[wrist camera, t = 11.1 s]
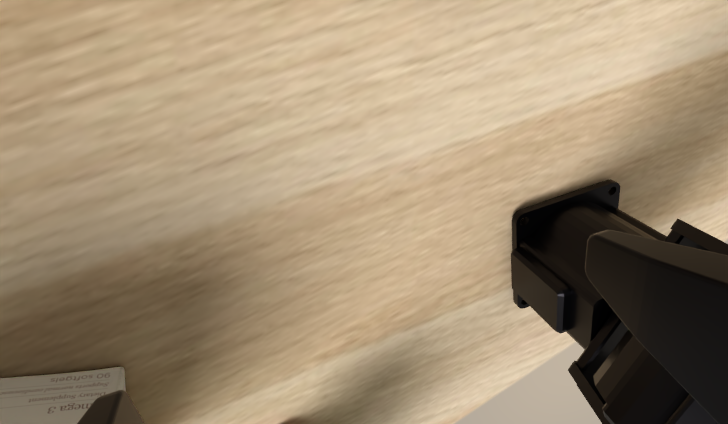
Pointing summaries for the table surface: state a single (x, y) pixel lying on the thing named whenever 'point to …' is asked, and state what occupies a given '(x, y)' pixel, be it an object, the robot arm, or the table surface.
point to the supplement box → (55, 395)
